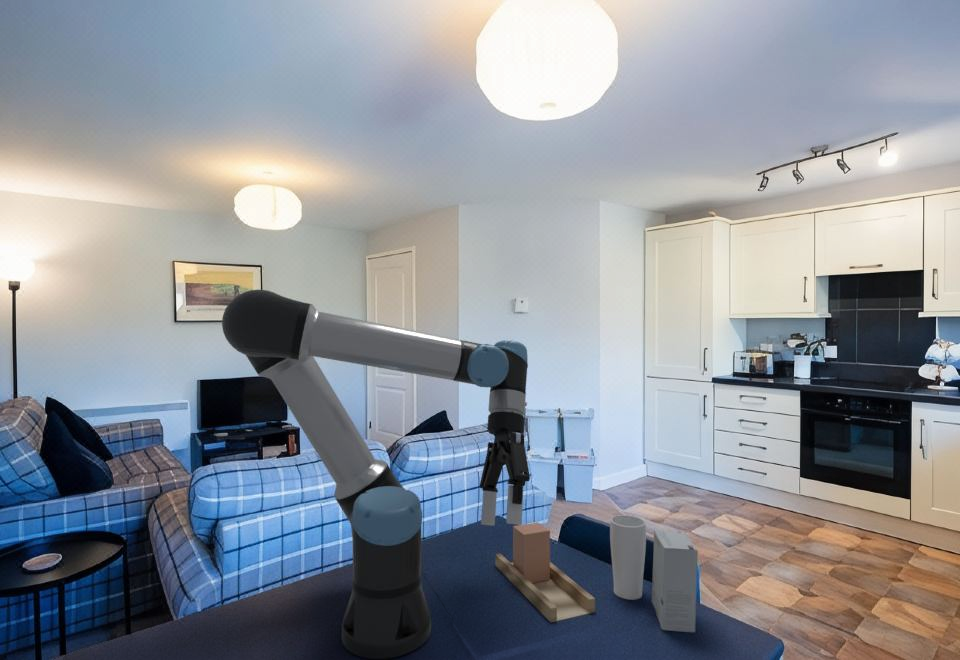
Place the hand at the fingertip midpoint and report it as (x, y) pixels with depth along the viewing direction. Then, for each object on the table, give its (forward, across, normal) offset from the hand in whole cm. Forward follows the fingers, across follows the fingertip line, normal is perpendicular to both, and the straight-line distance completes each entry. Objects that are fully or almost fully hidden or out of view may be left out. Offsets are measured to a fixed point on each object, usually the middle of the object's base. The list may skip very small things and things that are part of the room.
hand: (500, 524), depth 97 cm
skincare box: (+14, -9, -31) cm, 35 cm away
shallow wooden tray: (+11, +8, -12) cm, 18 cm away
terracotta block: (+9, +11, -12) cm, 19 cm away
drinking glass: (+11, 0, -28) cm, 30 cm away
